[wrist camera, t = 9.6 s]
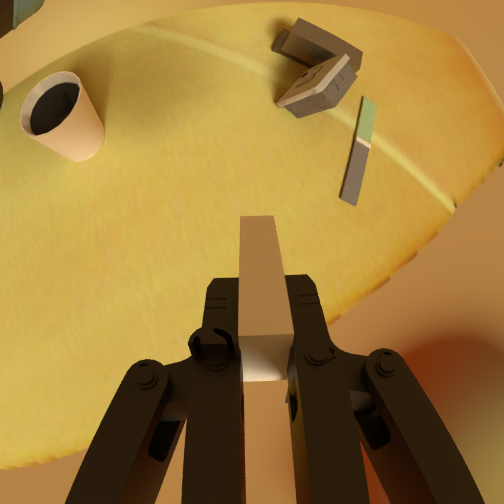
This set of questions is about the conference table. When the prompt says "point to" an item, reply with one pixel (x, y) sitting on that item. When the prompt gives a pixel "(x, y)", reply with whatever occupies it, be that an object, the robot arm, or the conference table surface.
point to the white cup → (62, 117)
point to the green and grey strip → (359, 153)
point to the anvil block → (314, 46)
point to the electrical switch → (319, 87)
